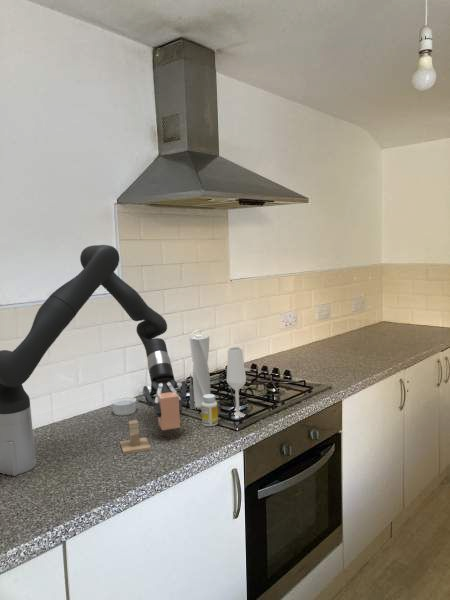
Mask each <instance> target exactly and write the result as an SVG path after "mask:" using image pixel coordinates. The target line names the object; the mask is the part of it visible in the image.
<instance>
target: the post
mask: <svg viewBox="0 0 450 600" xmlns="http://www.w3.org/2000/svg"><path fill="white" fill-rule="evenodd" d="M128 431H129V432H128V434H129V439H128V440H122V441H119V445H120V448H121V451H122V453H123V455H129V454H134V453H135V454H136V453H140V452H146V451H150V450H151V451H152V447H151V445H150V443H149V440H148V439H147V437H146V436H145V437H140V425H139V421H138V420H137V419H134V420H129V421H128Z"/></svg>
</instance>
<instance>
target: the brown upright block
mask: <svg viewBox="0 0 450 600" xmlns="http://www.w3.org/2000/svg"><path fill="white" fill-rule="evenodd" d="M177 394H178V393H177ZM177 394H176V393H172V392H168V393H161V394H160V395H158V399H159V402H158V403H159V405H160V410H161V417H158V416H157V420H158V426H159V427H160V429H161V430H162V431H167V430H173V429H179V428H181V421H180V420H181V417H180V415H181V414H179V397H180V395H179V394H178V395H179V396H178V395H177Z"/></svg>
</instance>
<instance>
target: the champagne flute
mask: <svg viewBox="0 0 450 600" xmlns="http://www.w3.org/2000/svg"><path fill="white" fill-rule="evenodd" d="M244 360H245V359H244V353H243V347H239V346H232V347H228V348H227V366H226V383H227V385H229V387H230V388H232V389H233V390H234V393H235V395H234V396H235V397H234V399H235V412H233V413H234V415H235V416H240V417H244V416H245V415H246V414H245V413H243V412H241V411H240V395H239V394H240V392H239V390H240V389H242V387H244V386H245V384H246V383H247V377H246V369H245V361H244Z"/></svg>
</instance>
